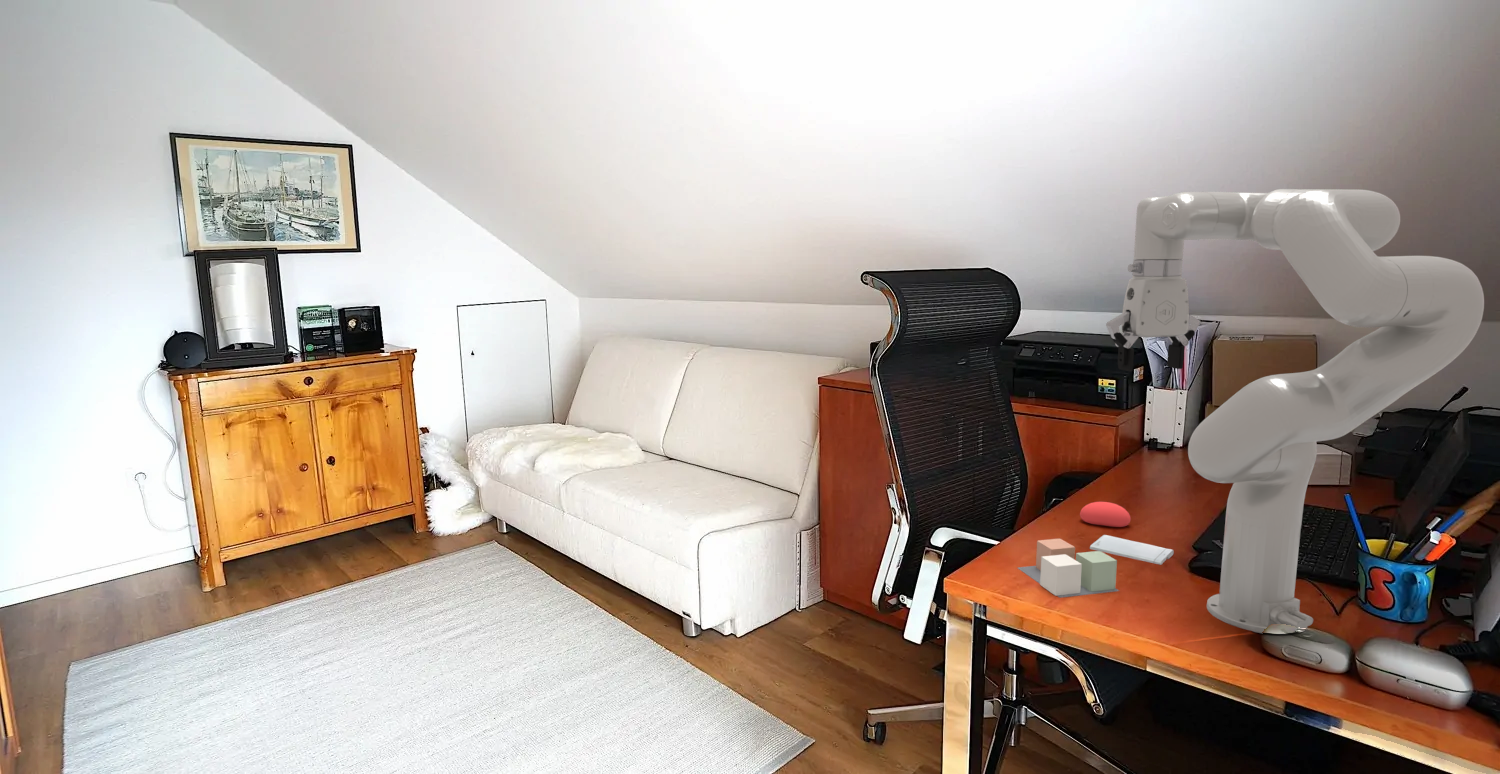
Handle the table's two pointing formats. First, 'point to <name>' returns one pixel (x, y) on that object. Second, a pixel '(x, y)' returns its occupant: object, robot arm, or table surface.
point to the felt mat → (1036, 575)
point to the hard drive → (1132, 549)
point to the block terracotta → (1053, 549)
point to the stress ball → (1105, 514)
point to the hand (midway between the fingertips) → (1150, 369)
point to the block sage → (1097, 571)
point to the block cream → (1060, 574)
